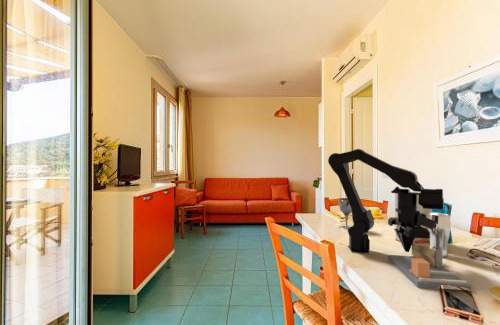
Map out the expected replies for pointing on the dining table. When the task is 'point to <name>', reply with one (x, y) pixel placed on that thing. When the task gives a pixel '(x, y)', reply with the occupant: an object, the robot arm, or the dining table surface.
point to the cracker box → (419, 208)
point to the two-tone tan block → (424, 253)
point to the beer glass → (439, 232)
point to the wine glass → (345, 210)
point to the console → (437, 273)
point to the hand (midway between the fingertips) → (406, 251)
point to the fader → (420, 268)
